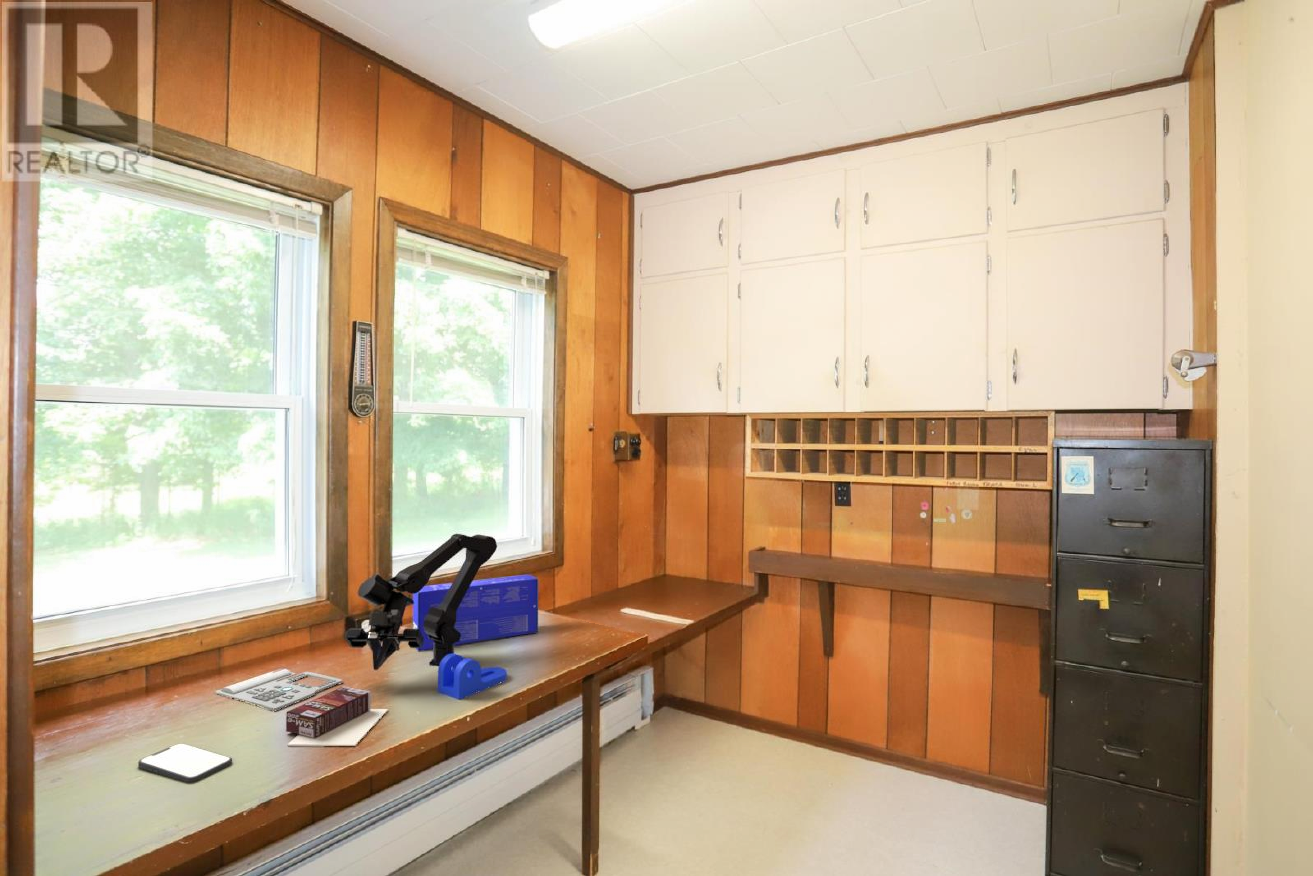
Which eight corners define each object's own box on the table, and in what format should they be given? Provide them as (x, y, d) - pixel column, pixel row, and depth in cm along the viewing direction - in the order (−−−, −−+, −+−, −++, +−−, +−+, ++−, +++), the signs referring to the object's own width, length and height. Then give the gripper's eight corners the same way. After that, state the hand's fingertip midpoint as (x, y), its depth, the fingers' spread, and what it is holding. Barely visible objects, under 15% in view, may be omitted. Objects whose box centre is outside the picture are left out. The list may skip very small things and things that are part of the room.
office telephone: (213, 686, 164) (287, 662, 182) (212, 696, 164) (287, 671, 182) (274, 702, 154) (346, 675, 172) (274, 714, 154) (346, 685, 172)
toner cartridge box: (529, 627, 226) (530, 573, 225) (538, 633, 218) (539, 578, 218) (411, 644, 205) (412, 585, 205) (417, 652, 198) (418, 591, 198)
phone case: (235, 765, 130) (181, 749, 136) (236, 757, 130) (181, 741, 136) (190, 788, 122) (134, 769, 128) (190, 779, 122) (134, 761, 128)
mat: (328, 710, 155) (328, 708, 155) (387, 710, 156) (387, 709, 156) (287, 746, 137) (287, 744, 137) (354, 746, 138) (355, 744, 138)
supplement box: (371, 690, 155) (315, 717, 140) (371, 710, 155) (315, 740, 140) (343, 684, 158) (285, 711, 143) (343, 704, 158) (285, 733, 143)
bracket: (458, 700, 163) (459, 664, 163) (437, 692, 168) (438, 657, 168) (512, 679, 178) (513, 646, 178) (492, 672, 183) (492, 640, 183)
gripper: (347, 597, 170) (327, 654, 159) (420, 598, 170) (405, 654, 159) (360, 619, 178) (341, 674, 167) (429, 619, 178) (415, 675, 167)
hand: (375, 669), depth 165 cm, fingers closed
